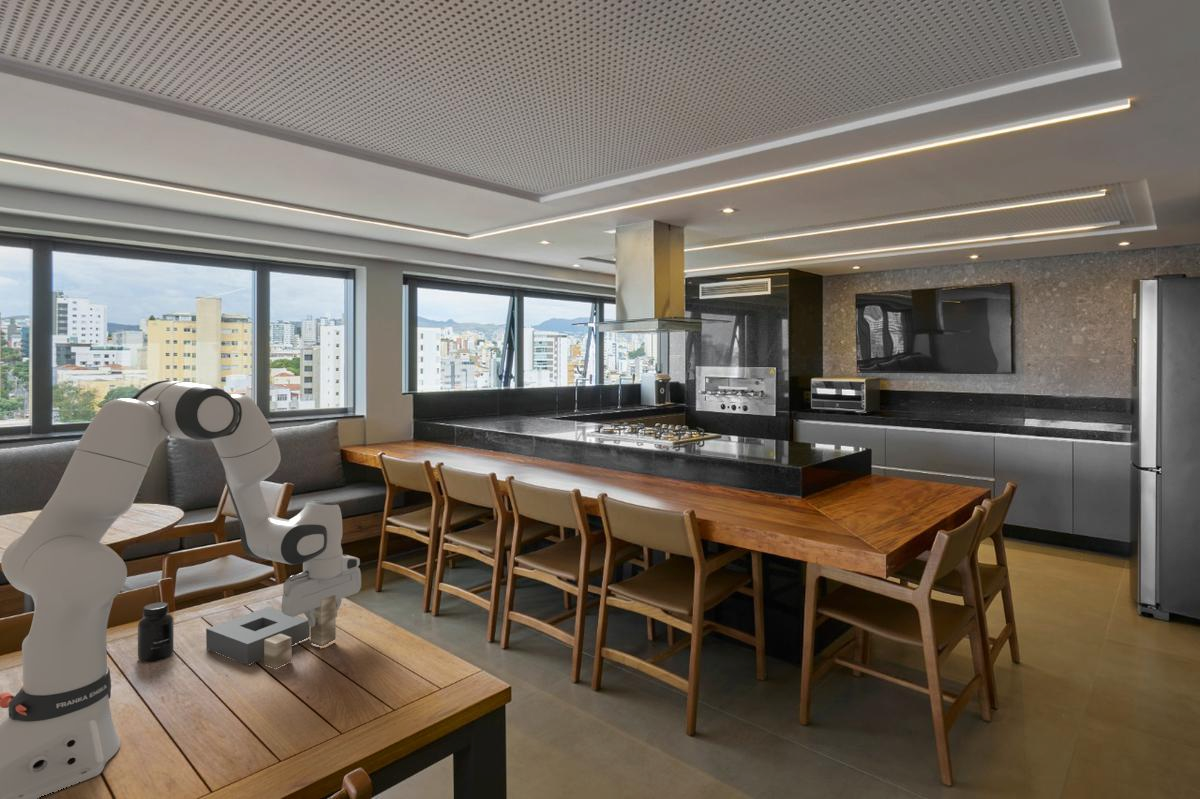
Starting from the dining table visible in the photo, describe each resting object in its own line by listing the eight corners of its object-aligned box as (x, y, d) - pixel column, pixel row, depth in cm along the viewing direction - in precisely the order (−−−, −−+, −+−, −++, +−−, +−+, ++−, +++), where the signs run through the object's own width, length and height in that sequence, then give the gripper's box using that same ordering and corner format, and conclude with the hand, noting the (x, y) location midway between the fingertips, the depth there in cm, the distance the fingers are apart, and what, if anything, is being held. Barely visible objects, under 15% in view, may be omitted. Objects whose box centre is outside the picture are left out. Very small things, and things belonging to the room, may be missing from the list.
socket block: (247, 665, 145) (247, 644, 145) (206, 649, 153) (206, 628, 152) (309, 639, 159) (309, 619, 159) (269, 625, 167) (268, 606, 166)
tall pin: (321, 649, 154) (321, 600, 153) (310, 645, 156) (310, 597, 155) (335, 642, 157) (335, 595, 157) (324, 639, 159) (324, 592, 159)
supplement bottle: (160, 663, 145) (159, 612, 144) (130, 662, 145) (129, 611, 144) (180, 650, 152) (179, 600, 151) (152, 649, 152) (151, 599, 151)
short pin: (275, 670, 143) (275, 643, 143) (264, 665, 145) (264, 639, 145) (291, 662, 147) (291, 637, 147) (280, 658, 149) (280, 633, 148)
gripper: (292, 580, 145) (293, 640, 146) (365, 557, 163) (365, 610, 164) (275, 575, 148) (275, 634, 149) (348, 553, 166) (348, 605, 167)
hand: (323, 621), depth 156 cm, fingers closed on tall pin, 4 cm apart
